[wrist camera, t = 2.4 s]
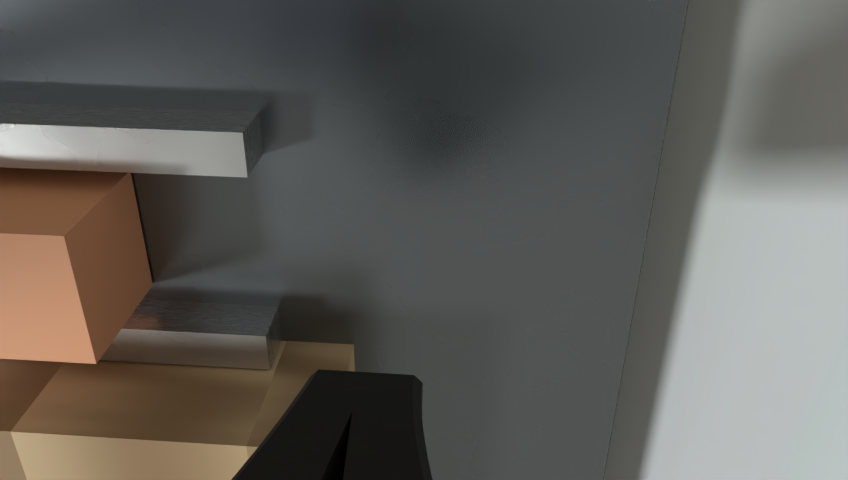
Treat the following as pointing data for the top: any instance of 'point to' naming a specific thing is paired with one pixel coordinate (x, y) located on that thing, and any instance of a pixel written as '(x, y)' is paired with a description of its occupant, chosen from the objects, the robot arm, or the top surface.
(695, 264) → the top surface
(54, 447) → the frame
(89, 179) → the orange rectangular block
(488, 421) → the slate board
